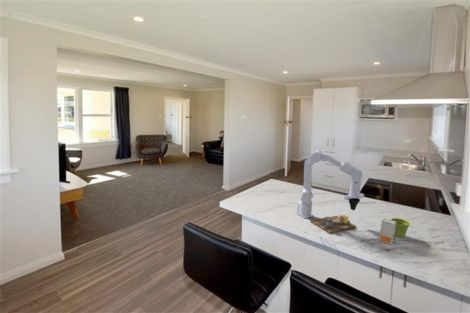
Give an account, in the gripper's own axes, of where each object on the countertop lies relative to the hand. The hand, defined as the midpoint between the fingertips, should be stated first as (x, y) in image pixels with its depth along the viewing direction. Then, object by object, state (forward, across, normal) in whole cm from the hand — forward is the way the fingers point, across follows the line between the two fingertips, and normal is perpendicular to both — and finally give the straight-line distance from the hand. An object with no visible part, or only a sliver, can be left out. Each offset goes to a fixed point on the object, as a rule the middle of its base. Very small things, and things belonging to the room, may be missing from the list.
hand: (352, 209), depth 159 cm
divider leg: (+8, -7, +1) cm, 10 cm away
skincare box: (+10, 0, -23) cm, 25 cm away
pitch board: (+9, -12, +3) cm, 16 cm away
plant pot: (+10, +13, -21) cm, 27 cm away
